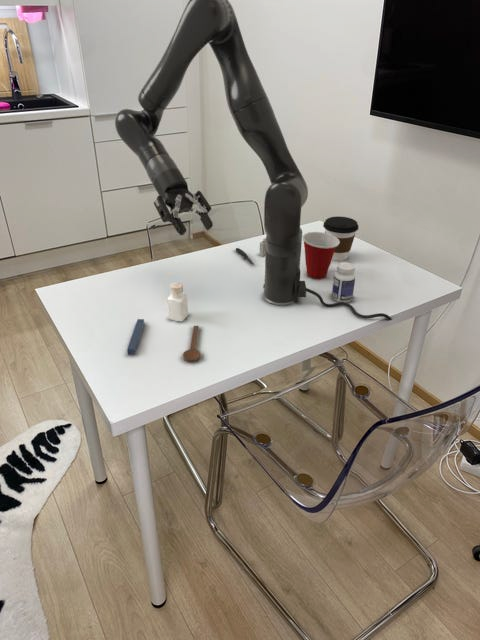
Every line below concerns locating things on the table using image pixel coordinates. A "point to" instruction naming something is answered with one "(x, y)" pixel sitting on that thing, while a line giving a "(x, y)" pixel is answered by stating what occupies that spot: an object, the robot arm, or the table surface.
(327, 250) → the plastic cup
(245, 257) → the folding knife
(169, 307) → the salt shaker
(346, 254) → the coffee cup
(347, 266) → the pill bottle
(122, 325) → the table surface
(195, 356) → the wooden spoon
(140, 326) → the blue stick
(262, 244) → the lighter
